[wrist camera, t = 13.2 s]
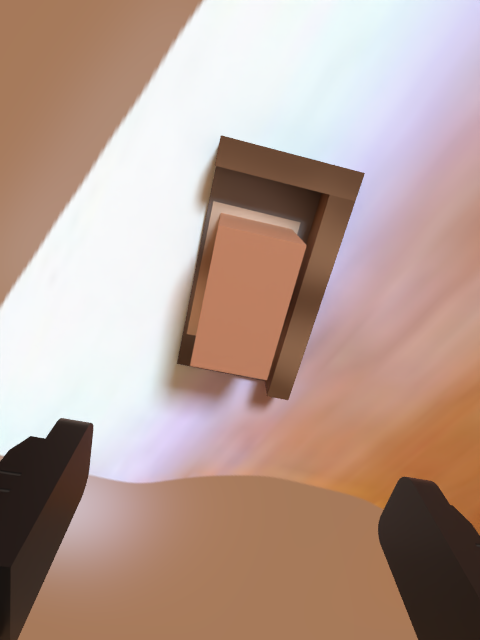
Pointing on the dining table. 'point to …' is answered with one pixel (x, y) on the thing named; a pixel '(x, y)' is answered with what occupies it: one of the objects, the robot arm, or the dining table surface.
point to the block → (246, 296)
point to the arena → (286, 211)
